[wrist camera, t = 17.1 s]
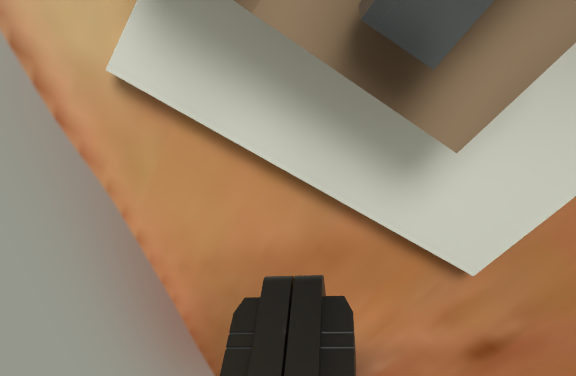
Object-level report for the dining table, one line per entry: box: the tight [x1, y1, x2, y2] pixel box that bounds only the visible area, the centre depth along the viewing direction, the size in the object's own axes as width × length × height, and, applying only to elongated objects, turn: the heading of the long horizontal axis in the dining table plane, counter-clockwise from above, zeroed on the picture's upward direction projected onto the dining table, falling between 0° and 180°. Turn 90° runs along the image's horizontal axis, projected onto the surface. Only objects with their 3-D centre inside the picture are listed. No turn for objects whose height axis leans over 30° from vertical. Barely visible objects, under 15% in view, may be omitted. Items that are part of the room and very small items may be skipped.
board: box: [106, 0, 576, 276], centre depth 20 cm, size 20×15×1 cm
